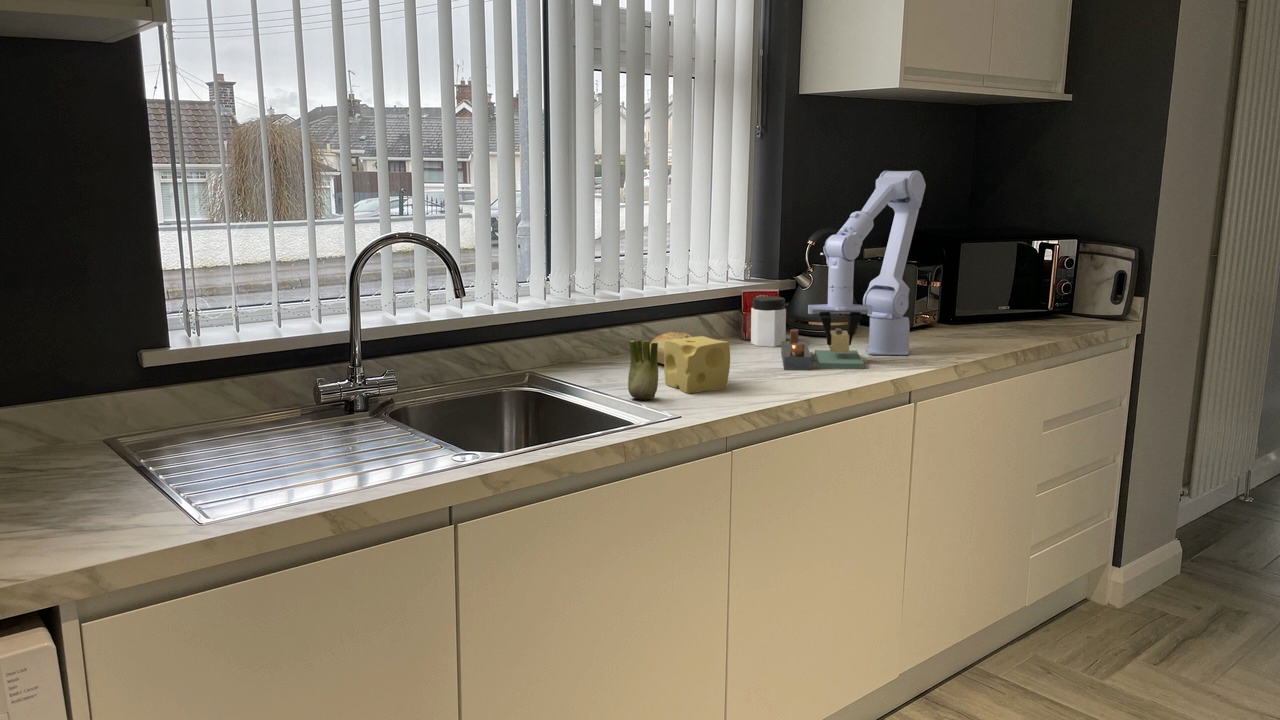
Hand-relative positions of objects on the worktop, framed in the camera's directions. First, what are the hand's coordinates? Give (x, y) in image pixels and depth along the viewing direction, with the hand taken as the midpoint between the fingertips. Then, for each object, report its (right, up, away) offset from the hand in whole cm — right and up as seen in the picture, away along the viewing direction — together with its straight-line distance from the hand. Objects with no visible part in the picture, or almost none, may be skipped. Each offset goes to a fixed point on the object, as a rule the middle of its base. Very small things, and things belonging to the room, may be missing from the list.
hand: (838, 344), depth 228 cm
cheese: (-35, -9, -23) cm, 43 cm away
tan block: (0, -1, 0) cm, 1 cm away
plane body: (-10, -4, +2) cm, 11 cm away
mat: (0, -4, +1) cm, 4 cm away
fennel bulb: (-46, -12, -34) cm, 58 cm away
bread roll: (-39, -5, -2) cm, 39 cm away
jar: (-13, 0, +24) cm, 28 cm away
